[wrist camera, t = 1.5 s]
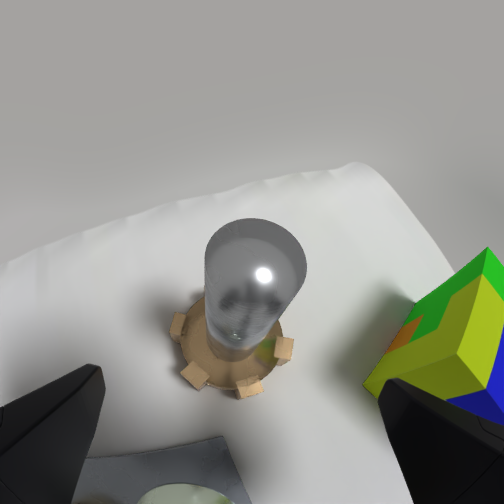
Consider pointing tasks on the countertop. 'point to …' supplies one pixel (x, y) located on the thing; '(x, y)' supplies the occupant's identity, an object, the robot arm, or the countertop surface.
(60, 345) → the countertop surface
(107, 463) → the carrier plate
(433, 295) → the puzzle toy
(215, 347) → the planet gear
